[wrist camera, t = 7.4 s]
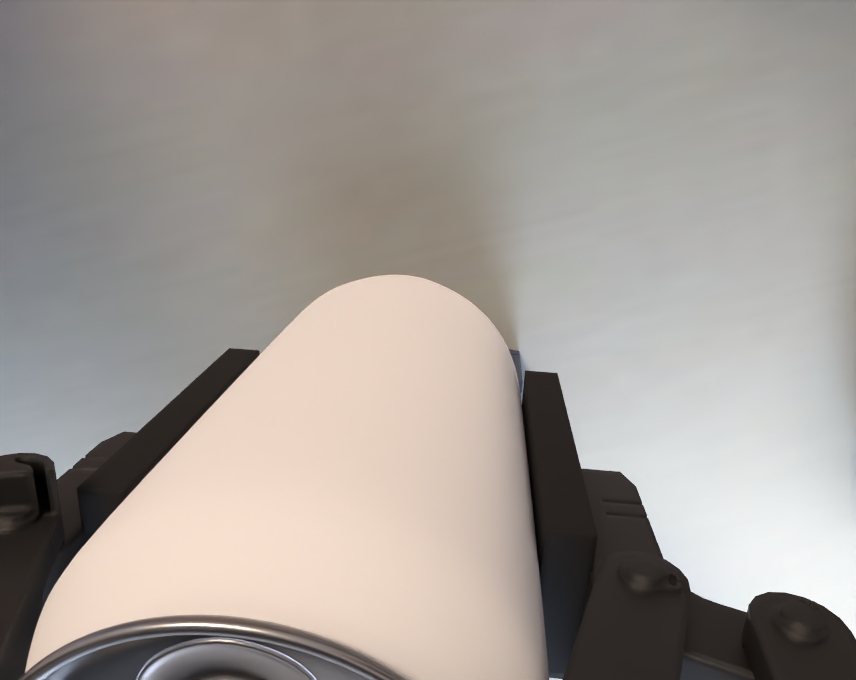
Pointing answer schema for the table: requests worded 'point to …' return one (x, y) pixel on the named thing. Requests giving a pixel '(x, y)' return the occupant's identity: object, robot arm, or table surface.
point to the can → (326, 516)
